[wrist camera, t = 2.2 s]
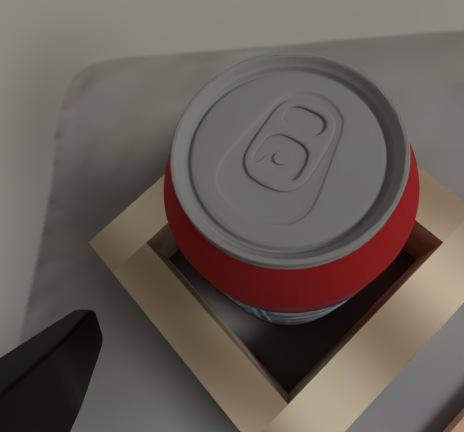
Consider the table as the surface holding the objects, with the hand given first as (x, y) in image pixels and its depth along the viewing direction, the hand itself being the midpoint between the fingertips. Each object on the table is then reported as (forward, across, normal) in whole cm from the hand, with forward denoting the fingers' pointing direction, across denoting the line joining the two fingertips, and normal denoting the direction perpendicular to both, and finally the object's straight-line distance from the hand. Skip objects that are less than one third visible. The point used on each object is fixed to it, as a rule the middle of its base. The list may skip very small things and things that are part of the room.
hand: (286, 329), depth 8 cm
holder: (+10, 0, +5) cm, 11 cm away
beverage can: (+10, 0, +5) cm, 12 cm away
